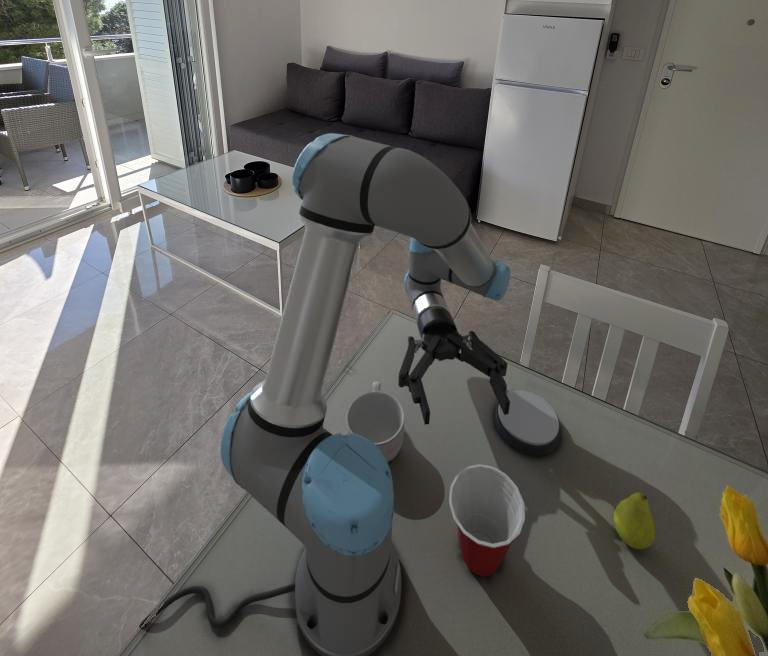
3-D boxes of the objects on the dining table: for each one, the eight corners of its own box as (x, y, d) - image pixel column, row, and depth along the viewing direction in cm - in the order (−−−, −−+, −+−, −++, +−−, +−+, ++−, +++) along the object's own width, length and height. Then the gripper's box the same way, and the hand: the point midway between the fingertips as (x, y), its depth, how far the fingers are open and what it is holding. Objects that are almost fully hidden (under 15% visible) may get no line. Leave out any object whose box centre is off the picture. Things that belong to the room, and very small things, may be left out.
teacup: (397, 481, 76) (399, 449, 73) (338, 468, 77) (338, 435, 75) (409, 412, 88) (410, 382, 86) (358, 401, 90) (358, 372, 88)
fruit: (637, 516, 71) (653, 465, 68) (658, 560, 66) (677, 507, 62) (602, 516, 71) (617, 465, 68) (621, 559, 66) (638, 506, 62)
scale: (506, 457, 80) (508, 446, 79) (487, 399, 92) (488, 389, 91) (570, 454, 81) (572, 444, 80) (543, 397, 93) (545, 387, 92)
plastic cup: (440, 511, 71) (445, 460, 68) (505, 515, 71) (514, 464, 67) (447, 597, 61) (453, 542, 57) (523, 602, 61) (535, 547, 57)
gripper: (489, 330, 93) (536, 421, 73) (375, 341, 89) (392, 439, 69) (492, 301, 90) (542, 387, 71) (376, 311, 87) (393, 405, 67)
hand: (468, 413), depth 70 cm, fingers open, 13 cm apart
